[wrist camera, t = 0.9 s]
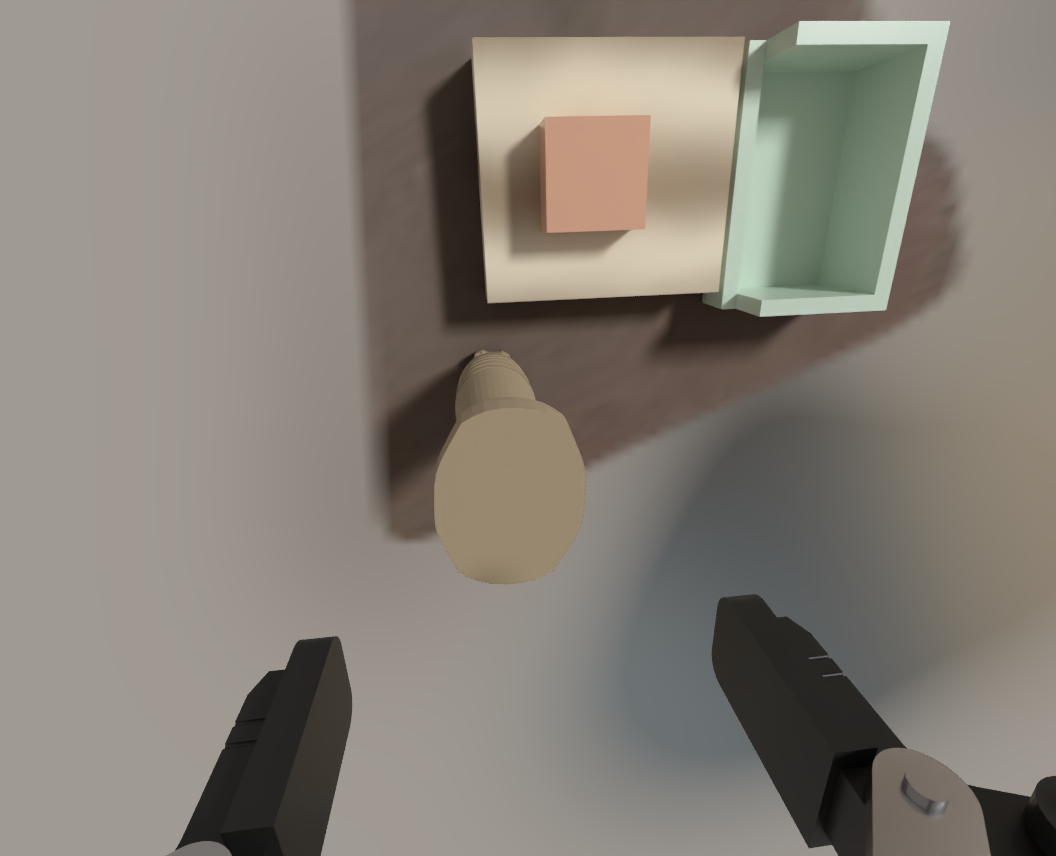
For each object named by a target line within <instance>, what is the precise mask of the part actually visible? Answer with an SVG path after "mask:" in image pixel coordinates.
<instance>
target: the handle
mask: <svg viewBox="0 0 1056 856" xmlns="http://www.w3.org/2000/svg"><path fill="white" fill-rule="evenodd" d="M455 414H456V423H455V425H454V427H453V428H452V430H451V432H450V434H449V436H448V438H447V440H446V442H445V444H444V446H443V448H442V450H441V453H440V455H439V457H438V460H437V464H436V471H435V487H434V516H435V525H436V530H437V533H438V536H439V538H440V541H441V543H442V545H443V546H444V548H445V550H446V552H447V554H448V556H449V557H450V559H451V561H452V562H453V564H454V566H455V568H456V569H457V571H458V572H459V573H461V574H463V575H465V576H466V577H469V578H471V579H474V580H476V581H480V582H485V583H490V584H516V583H523V582H528V581H533V580H535V579H538V578H540V577H543V576H545V575H547V574H549V573H551V572H552V571H554V570H555V568H556V567H557V565H558V564H559V562H560V561H561V560H562V558H563V557H564V555H565V554H566V552H567V550H568V549H569V547H570V546H571V544H572V543H573V541H574V539H575V538H576V536H577V533H578V531H579V529H580V526H581V522H582V518H583V511H584V503H585V495H586V472H585V467H584V463H583V460H582V457H581V455H580V452H579V449H578V447H577V444H576V442H575V440H574V437H573V435H572V432H571V430H570V427H569V425H568V423H567V421H566V419H565V417H564V416H563V415H562V414H561V413H560V412H558V411H557V410H555V409H554V408H552V407H551V406H549V405H547V404H545V403H543V402H539V401H536V400H535V396H534V393H533V390H532V388H531V385H530V383H529V381H528V379H527V377H526V375H525V374H524V372H523V371H522V369H521V368H520V367H519V366H518V365H517V364H516V363H515V362H514V361H513V360H512V359H510V355H509V354H508V353H506V352H505V351H502V350H499V351H496V352H489V351H485V350H484V349H481V350H478V351H477V352H475V355H474V358H473V359H472V360H471V361H470V362H469V363H468V364H467V365H466V367H465V368H464V370H463V371H462V374H461V376H460V379H459V382H458V387H457V391H456V401H455Z"/></svg>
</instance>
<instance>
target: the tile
mask: <svg viewBox="0 0 1056 856" xmlns="http://www.w3.org/2000/svg"><path fill="white" fill-rule="evenodd" d="M650 121H651V115H623V116H562V117H544V119H543V120H542V121H541V122H540V124H539V164H540V213H541V232H545V233H557V232H584V231H612V230H639V229H645V222H646V202H647V181H648V161H649V141H650Z"/></svg>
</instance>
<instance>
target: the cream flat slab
mask: <svg viewBox="0 0 1056 856" xmlns="http://www.w3.org/2000/svg"><path fill="white" fill-rule="evenodd" d="M744 40H745V37H472V52H471V61H472V78H473V94H474V111H475V127H476V144H477V161H478V177H479V194H480V210H481V227H482V244H483V260H484V277H485V293H486V299H487V302H488V303H502V302H523V301H544V300H564V299H585V298H606V297H626V296H647V295H667V294H688V293H709V292H719V282H720V273H721V263H722V253H723V244H724V234H725V224H726V215H727V205H728V195H729V186H730V176H731V166H732V157H733V147H734V137H735V127H736V118H737V108H738V98H739V89H740V79H741V69H742V60H743V50H744ZM623 115H651V121H650V141H649V161H648V181H647V202H646V222H645V229H639V230H612V231H584V232H557V233H545V232H541V213H540V164H539V124H540V122H541V121H542V120H543V119H544V117H562V116H623Z"/></svg>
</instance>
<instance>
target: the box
mask: <svg viewBox="0 0 1056 856" xmlns="http://www.w3.org/2000/svg"><path fill="white" fill-rule="evenodd" d="M949 25H950V21H799V22H797V23H795V24H794V25H792V26H790V27H789V28H787V29H785V30H783V31H782V32H780V33H778V34H777V35H775V36H773V37H772V38H770V39H768V40H750V41H748V42H746V43H745V44H744V50H743V60H742V69H741V79H740V89H739V98H738V108H737V118H736V127H735V137H734V147H733V157H732V166H731V176H730V186H729V195H728V205H727V215H726V224H725V234H724V244H723V253H722V263H721V273H720V282H719V292H709V293H703V296H702V303H705V304H708V305H710V306H713V307H716V308H719V309H738V310H741V311H744V312H747V313H750V314H753V315H756V316H759V317H765V316H784V315H803V314H822V313H840V312H859V311H878V310H886V308H887V303H888V299H889V294H890V290H891V285H892V281H893V276H894V272H895V267H896V263H897V258H898V254H899V249H900V245H901V240H902V236H903V231H904V227H905V222H906V218H907V213H908V209H909V205H910V200H911V196H912V191H913V187H914V182H915V178H916V173H917V169H918V164H919V160H920V155H921V151H922V146H923V142H924V137H925V133H926V128H927V124H928V119H929V115H930V111H931V106H932V101H933V97H934V92H935V88H936V83H937V79H938V75H939V70H940V66H941V61H942V57H943V52H944V48H945V43H946V38H947V34H948V30H949Z"/></svg>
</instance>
